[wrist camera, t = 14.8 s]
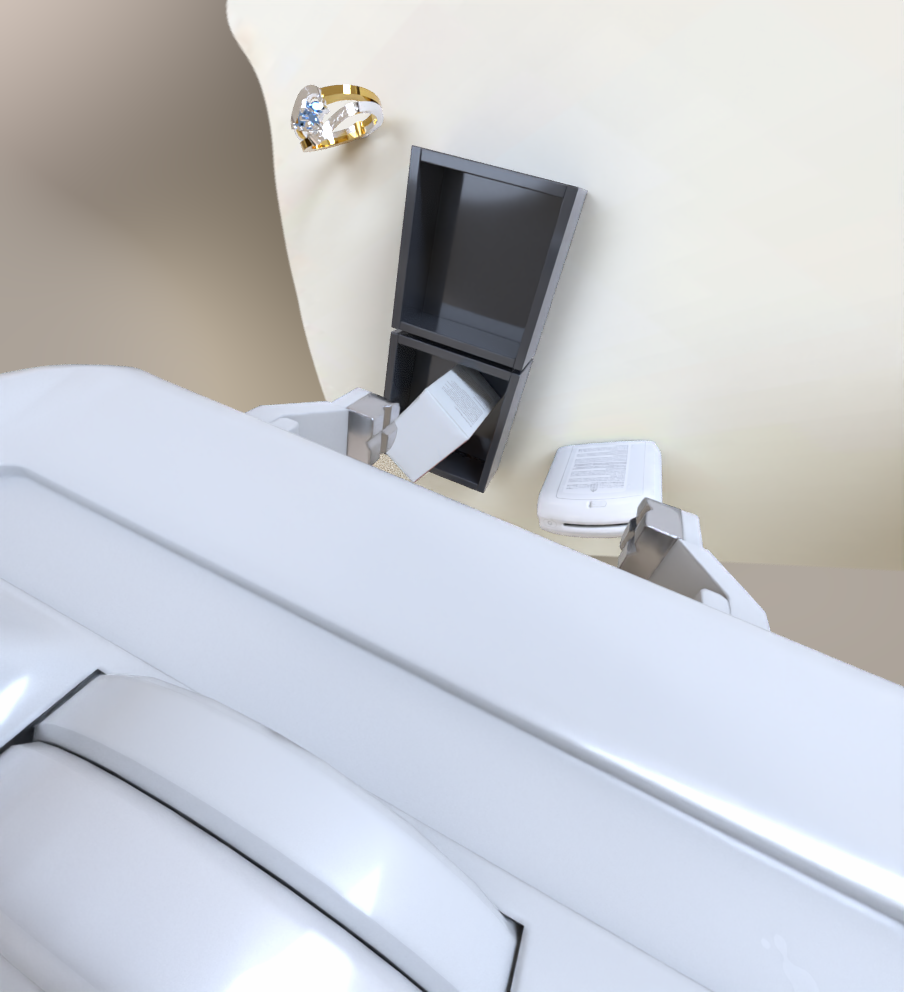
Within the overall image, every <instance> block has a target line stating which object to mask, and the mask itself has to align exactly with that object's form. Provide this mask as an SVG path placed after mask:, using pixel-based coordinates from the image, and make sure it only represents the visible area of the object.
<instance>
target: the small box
mask: <svg viewBox="0 0 904 992" xmlns="http://www.w3.org/2000/svg"><path fill="white" fill-rule="evenodd" d="M500 400H501V398H500V397H499V395H498V394H497V393H496V392H495V391H494V389H493V388H492V387H491V386H490V384H489V383H488V382H487V381H486V380H485V378H484V377H483V376H482V375H481V374H480V372H479V371H478V370H475V369H472V368H469V367H466V366H463V365H460V364H457V365H456V366H455V367H454V368H452V369H451V370H450V371H448V372H447V373H446V374H444V375H443V376H442V377H440V378H439V379H438V380H436V381H435V382H434V383H432V384H431V385H430V386H429V387H427V388H426V389H425V390H424V391H423V392H422V393H421V394H420V395H419V396H418V398H417V399H416V400H415V401H414V402H413V403H412V404H411V405H410V406H409V407H408V408H407V409H406V410H405V411H404V412H402V413H401V414H400V415H399V417H398V418H397V419H396V420H394V422H395V424H396V426H397V435H396V438H395V442H394V443H393V445H392V447H391V449H389V450H388V451H387V452H386V454H387V455H388V456H389V457H390V458H391V459H392V460H393V461H394V463H395V464H396V465H397V466H398V467H399V468H400V469H401V470H402V471H403V472H404V473H405V474H406V476H407V477H408V478H409V479H410V480H411V481H412V482H416V481H417V480H418V479H419V478H421V477H422V476H423V475H424V474H426V473H427V472H428V471H430V470H431V469H432V468H433V467H435V466H436V465H437V464H438V463H440V462H441V461H442V460H443V459H445V458H446V457H447V456H449V455H450V454H451V453H452V452H454V451H455V450H456V449H457V448H459V447H460V446H461V445H462V444H464V443H465V442H466V441H467V440H469V439H470V437H471V436H472V435H473V433H474V432H475V431H476V430H477V428H478V427H479V426H480V425H481V423H482V422H483V421H484V419H485V418H486V417H487V416H488V415H489V413H490V412H491V411H492V409H493V408H494V407H495V406H496V404H497V403H498V402H499V401H500Z"/></svg>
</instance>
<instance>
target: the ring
mask: <svg viewBox="0 0 904 992" xmlns="http://www.w3.org/2000/svg"><path fill="white" fill-rule="evenodd" d="M314 98H317V99H318V101H319V102H318V101H314V102H312V103H311V102H310V101H311V100H312V99H314ZM341 100H356V101H360V102H354V103H351V104H348V105H346V106H344V107H343V108H341V109H340V110H338V111H337V112H336V113H335V114H334V115H332V116H331V118H330V119H329V120H328V121H327V122H326V123H325V124H324V125H323V123H322V120H323V117H324V114H328V113H329V112H330V110H329V109H328V107H326V104H327V105H328V104H330V103H333V102H336V101H341ZM314 112H315V113H314ZM359 113H370V114H371V115H370V116H369V117H368V118H367V119H366V120H364V121H363V122H362V121H359V122H357V123H355V124H354V126H352V127H350V128H347V129H344V130H341V131H338V132H333V133H331V132H332V130H333V129H334V128H335V127H336V126H337V125H338V124H339V123H340V122H342V121H343V120H344V119H346V118H348V117H349V116H352V115H354V114H359ZM383 121H384V116H383V111H382V106H381V102H380V100H379V98H378V97H377V96H376V95H375V94H374V93H373V92H371V91H369V90H367V89H365V88H362V87H359V86H353V85H333V86H327V87H323V88H318V87H317V86H314V85H308V86H306V87H304V88H303V89H302V90H301V91H300V93H299V94H298V96H297V99H296V101H295V104H294V107H293V111H292V116H291V122H292V123H291V128H292V129H294V132H295V135H296V137H297V138H298V139H299V140H301V143H300V144H301V147H302V150H303V152H312V151H317V150H322V149H327V148H331V147H335V146H338V145H342V144H345V143H348V142H351V141H354V140H356V139H359V138H365V137H367V136H369V134H370V133H372V132H373V131H375V130H376V129H377V128H379V127H380V126H381V124H382V123H383ZM318 130H320V131H319V132H318ZM317 132H318V133H317Z"/></svg>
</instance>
